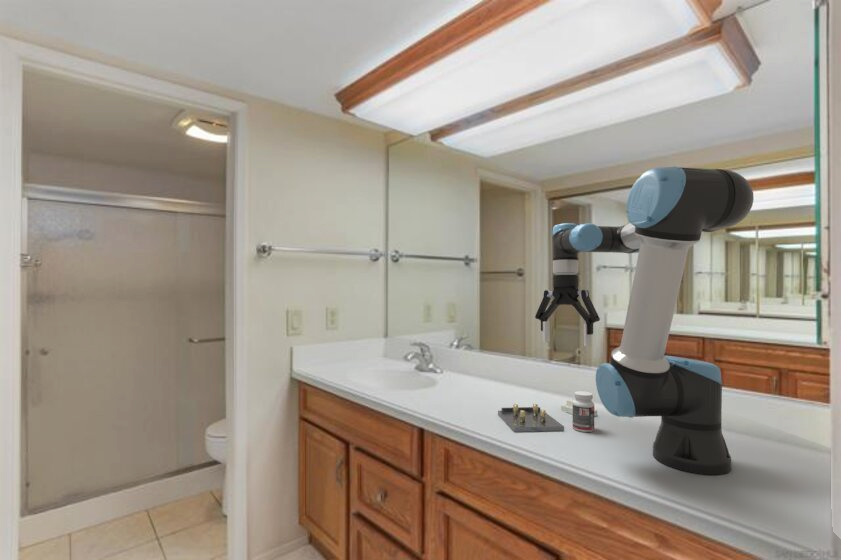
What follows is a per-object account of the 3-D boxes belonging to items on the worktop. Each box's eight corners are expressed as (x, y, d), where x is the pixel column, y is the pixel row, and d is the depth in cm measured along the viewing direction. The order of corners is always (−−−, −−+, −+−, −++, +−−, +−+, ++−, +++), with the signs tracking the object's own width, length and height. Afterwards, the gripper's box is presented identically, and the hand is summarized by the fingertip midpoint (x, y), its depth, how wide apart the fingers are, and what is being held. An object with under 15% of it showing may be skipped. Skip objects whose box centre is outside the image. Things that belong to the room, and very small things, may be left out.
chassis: (564, 430, 118) (564, 415, 118) (514, 432, 116) (514, 416, 116) (541, 413, 133) (541, 400, 134) (497, 414, 132) (497, 400, 132)
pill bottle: (596, 433, 116) (596, 396, 116) (574, 431, 117) (574, 395, 117) (592, 426, 121) (592, 391, 122) (571, 425, 123) (571, 390, 123)
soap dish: (597, 415, 132) (597, 404, 132) (582, 418, 129) (583, 406, 129) (575, 408, 140) (575, 397, 140) (561, 410, 137) (561, 399, 137)
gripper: (611, 273, 126) (612, 346, 125) (537, 276, 144) (537, 339, 143) (599, 272, 121) (600, 348, 120) (524, 275, 139) (524, 341, 138)
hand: (566, 343), depth 131 cm, fingers open, 13 cm apart
